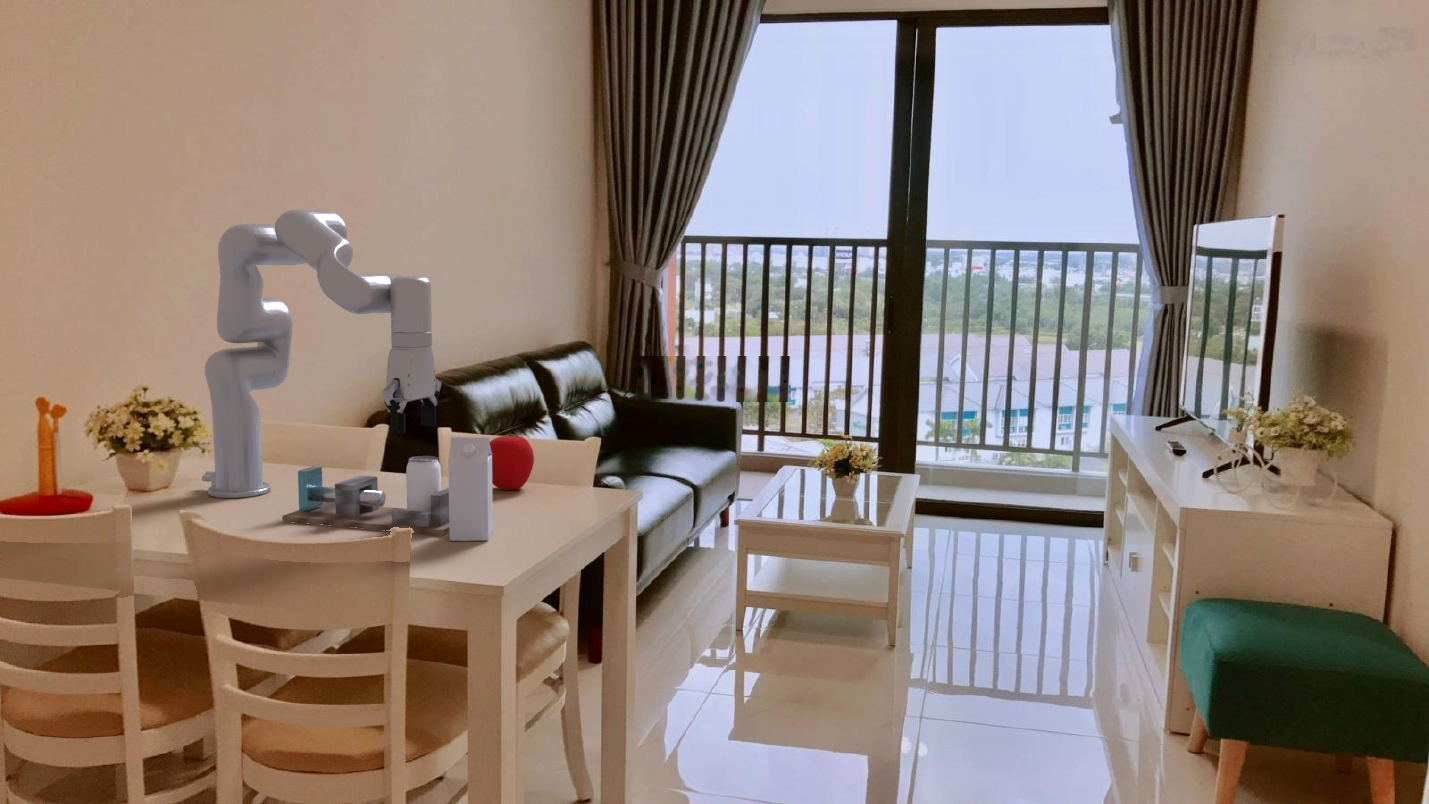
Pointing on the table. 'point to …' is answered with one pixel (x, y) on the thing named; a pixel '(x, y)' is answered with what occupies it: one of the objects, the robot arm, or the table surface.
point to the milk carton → (470, 489)
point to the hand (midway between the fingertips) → (413, 429)
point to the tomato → (511, 461)
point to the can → (422, 482)
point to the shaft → (328, 491)
